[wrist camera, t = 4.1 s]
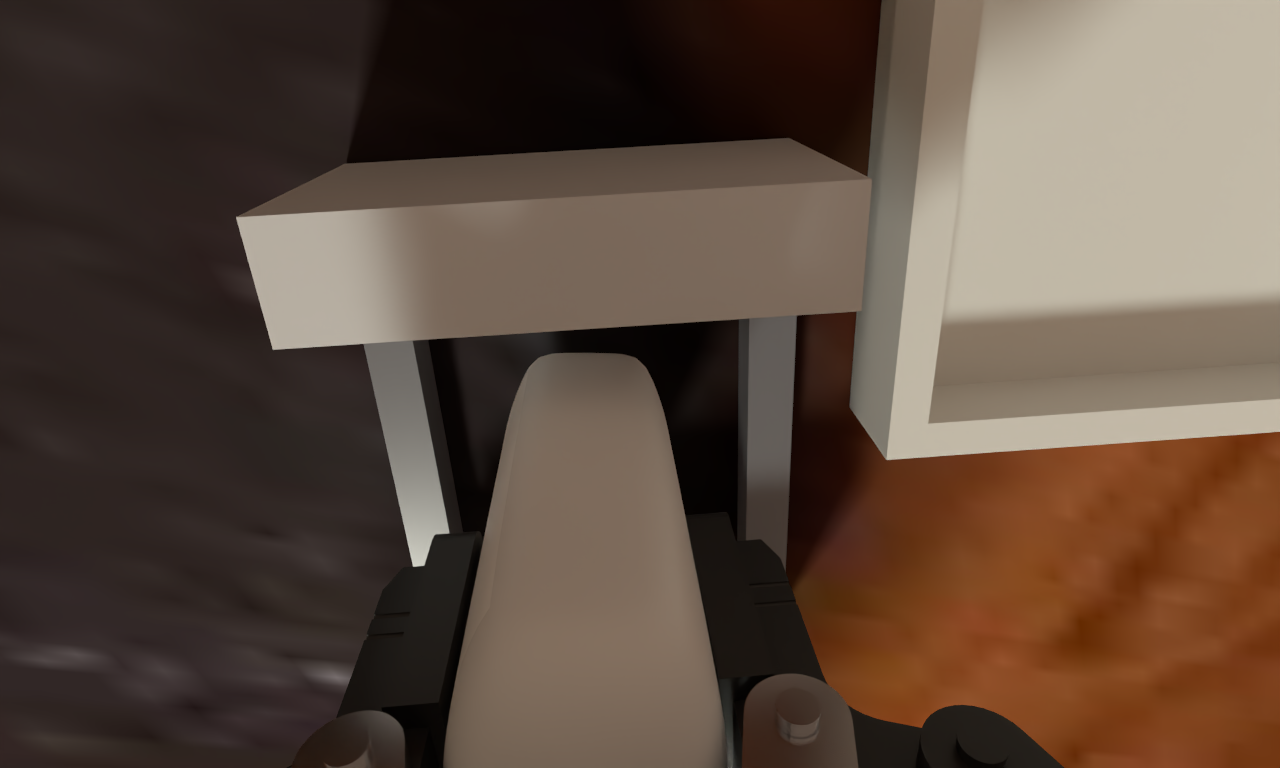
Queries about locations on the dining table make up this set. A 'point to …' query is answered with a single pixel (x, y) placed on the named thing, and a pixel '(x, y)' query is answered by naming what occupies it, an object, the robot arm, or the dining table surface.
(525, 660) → the eye dropper bottle
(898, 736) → the robot arm
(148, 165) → the dining table surface
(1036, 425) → the tray
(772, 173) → the holder
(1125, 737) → the dining table surface
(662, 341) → the dining table surface
